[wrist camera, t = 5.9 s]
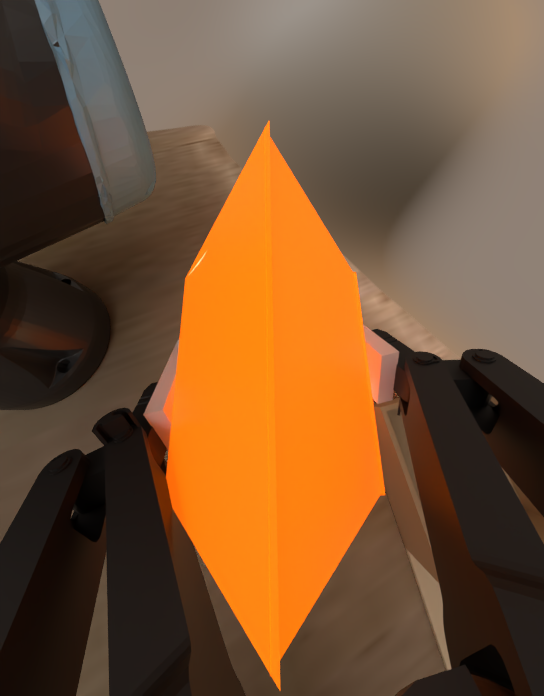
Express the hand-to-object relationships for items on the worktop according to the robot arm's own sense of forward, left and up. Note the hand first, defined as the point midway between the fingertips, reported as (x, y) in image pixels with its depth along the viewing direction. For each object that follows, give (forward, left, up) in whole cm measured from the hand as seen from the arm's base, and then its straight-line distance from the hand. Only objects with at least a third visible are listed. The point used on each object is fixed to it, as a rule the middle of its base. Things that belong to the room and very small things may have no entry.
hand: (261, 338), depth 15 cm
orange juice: (+3, 0, -9) cm, 10 cm away
